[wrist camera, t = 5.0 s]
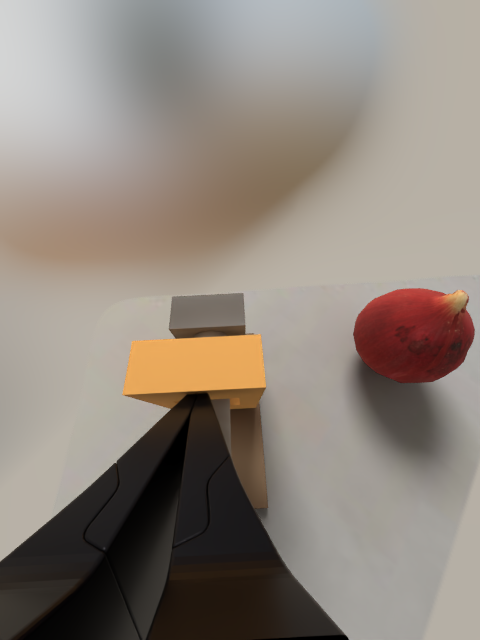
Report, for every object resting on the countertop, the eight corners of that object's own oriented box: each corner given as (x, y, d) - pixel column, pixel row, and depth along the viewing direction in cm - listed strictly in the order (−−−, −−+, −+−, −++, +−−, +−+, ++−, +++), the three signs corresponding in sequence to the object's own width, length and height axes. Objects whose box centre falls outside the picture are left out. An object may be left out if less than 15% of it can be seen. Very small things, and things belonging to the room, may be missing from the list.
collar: (255, 407, 15) (266, 387, 8) (181, 411, 15) (122, 395, 8) (253, 377, 16) (260, 334, 9) (183, 381, 16) (132, 341, 9)
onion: (426, 390, 16) (571, 358, 9) (347, 392, 16) (429, 363, 9) (398, 319, 19) (493, 250, 12) (330, 321, 19) (383, 254, 12)
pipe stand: (266, 504, 13) (284, 562, 8) (174, 509, 13) (119, 571, 8) (253, 336, 18) (257, 292, 12) (185, 339, 18) (157, 297, 12)
